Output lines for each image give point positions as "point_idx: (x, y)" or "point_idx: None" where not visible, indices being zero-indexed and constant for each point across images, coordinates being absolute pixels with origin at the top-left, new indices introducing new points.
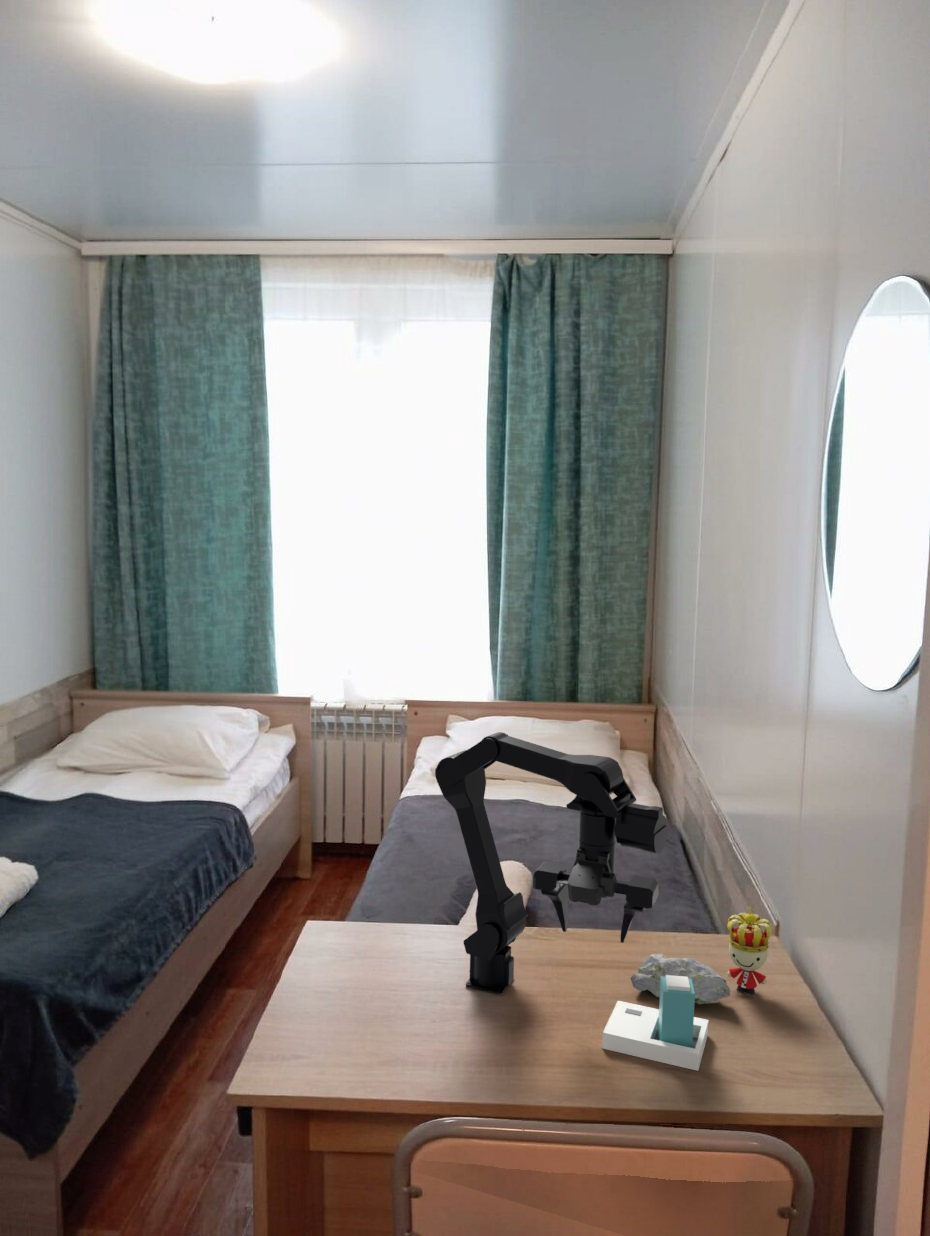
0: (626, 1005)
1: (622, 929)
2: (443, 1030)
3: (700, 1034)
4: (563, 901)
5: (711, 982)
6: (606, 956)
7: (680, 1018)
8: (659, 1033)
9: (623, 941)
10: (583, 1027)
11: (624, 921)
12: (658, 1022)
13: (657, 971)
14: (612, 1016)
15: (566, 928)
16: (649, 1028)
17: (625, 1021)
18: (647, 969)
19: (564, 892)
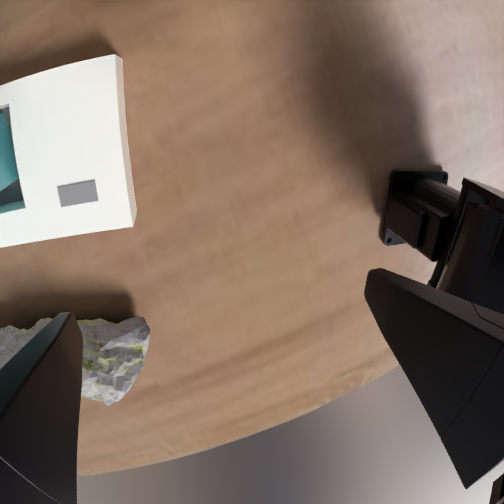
0: (105, 216)
1: (34, 358)
2: (435, 21)
3: None
4: (483, 374)
5: (2, 361)
6: (241, 385)
7: None
8: (5, 148)
9: (56, 316)
10: (191, 120)
11: (1, 401)
12: (13, 181)
13: (93, 357)
14: (116, 143)
15: (370, 291)
16: (21, 144)
17: (78, 138)
18: (119, 359)
19: (492, 426)
